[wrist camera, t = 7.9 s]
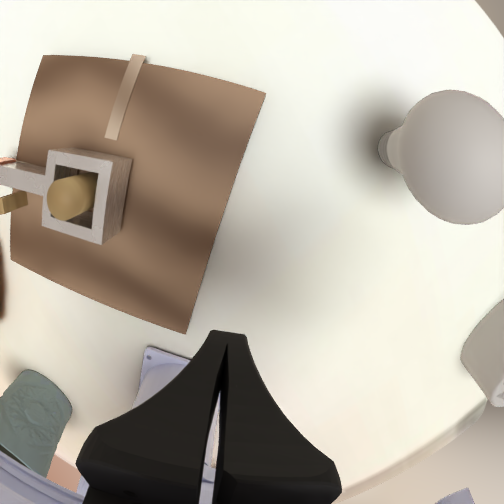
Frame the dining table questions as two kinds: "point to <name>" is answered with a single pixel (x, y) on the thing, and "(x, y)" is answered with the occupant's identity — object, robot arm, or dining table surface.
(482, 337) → the lumpy-topped squat cylinder
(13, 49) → the dining table surface
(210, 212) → the socket base
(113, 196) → the square frame with handle
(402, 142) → the lightbulb
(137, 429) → the robot arm
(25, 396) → the embossed teal cup
